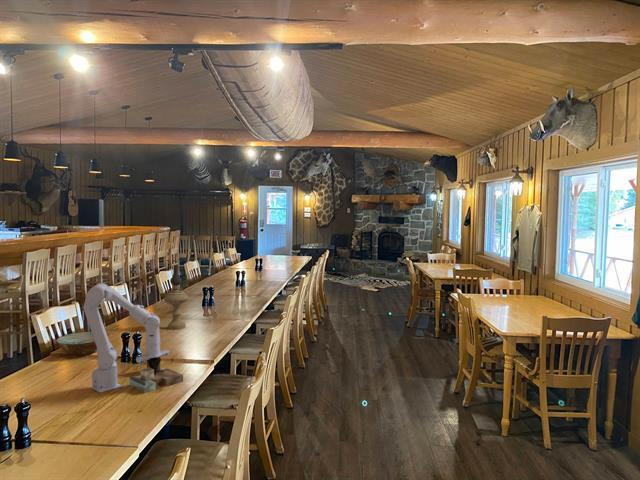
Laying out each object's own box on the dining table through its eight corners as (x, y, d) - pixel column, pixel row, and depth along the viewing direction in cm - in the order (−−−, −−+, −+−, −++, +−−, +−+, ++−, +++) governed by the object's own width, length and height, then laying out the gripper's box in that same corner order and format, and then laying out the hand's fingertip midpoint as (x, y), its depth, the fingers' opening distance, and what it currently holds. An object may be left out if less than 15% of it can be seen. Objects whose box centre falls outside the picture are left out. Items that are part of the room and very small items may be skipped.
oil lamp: (184, 330, 299) (183, 266, 297) (160, 330, 300) (159, 266, 297) (191, 324, 314) (190, 264, 312) (169, 324, 315) (167, 264, 312)
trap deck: (144, 393, 197) (144, 383, 197) (129, 385, 206) (129, 375, 206) (183, 381, 211) (182, 372, 211) (167, 374, 220) (167, 365, 219)
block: (145, 381, 203) (144, 372, 202) (141, 379, 205) (140, 370, 205) (154, 378, 206) (153, 369, 205) (149, 376, 208) (148, 367, 208)
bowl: (88, 361, 239) (88, 345, 239) (44, 357, 244) (44, 342, 244) (119, 347, 264) (118, 332, 263) (79, 344, 269) (78, 330, 268)
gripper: (141, 349, 198) (142, 381, 199) (173, 341, 209) (173, 372, 210) (133, 346, 203) (134, 377, 204) (164, 339, 214) (165, 368, 215)
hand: (153, 374), depth 207 cm, fingers closed
